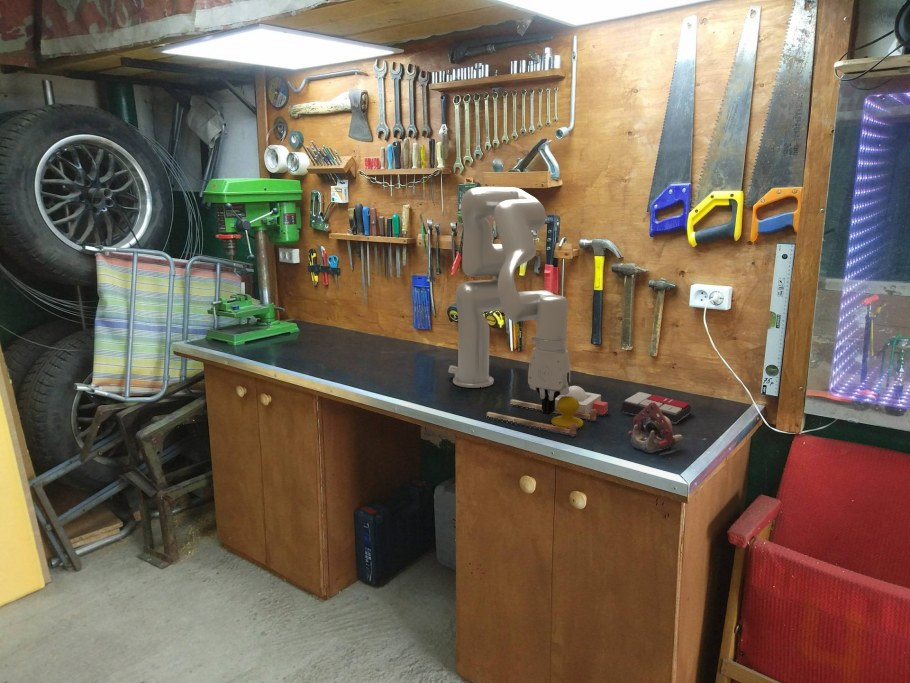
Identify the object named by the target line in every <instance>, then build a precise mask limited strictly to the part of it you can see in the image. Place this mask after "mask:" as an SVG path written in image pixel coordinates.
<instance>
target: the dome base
mask: <svg viewBox="0 0 910 683" xmlns="http://www.w3.org/2000/svg"><path fill="white" fill-rule="evenodd" d="M585 393H586V400H584V401H583V402H579V408H578V410H577V411H576V412H580V413H585V414H589V413H590V409H596V413H600V414H605V413H606V412H607V411H608V410H609V409H608V408H609V402H607V401H602V395H601V394H599V393H592V392H587V391H585ZM561 397H563V395H559V396H558V397H557V398H555V408H558V407H557V402H558V400H559V399H560V398H561ZM608 412H609V411H608ZM608 412H607V413H608Z"/></svg>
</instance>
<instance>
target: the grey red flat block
mask: <svg viewBox="0 0 910 683" xmlns="http://www.w3.org/2000/svg"><path fill="white" fill-rule="evenodd" d="M651 402H655V403H656V404H657V405H658V407H659V409H660V410H661V412H662V414H663V416H666V417H667V418H668V419H669V420H670V421H673V422H677V421H678V420H680V419H681V418H682V417H683V416H685V415H686V414H688V413H689V412H690V413H691V410H692V409H691V407H692V405H691V404H690V403H688V402H684V401H682V400H678V399H672V398H669V397H665V396H660V395H657V394H650V393H645V392H641V391H638V392H636V393H635V394H633V395H632V396H630V397H628V398H626V399H624V400H623V401H622V403H621V411H624V412H628V413H633V414H638V413H640V412H641V411H642V410H643V409H644V408H645V407H647V406H648V405H649V404H650V403H651ZM621 411H620V412H621ZM647 413H648V414H649V412H648V411H647ZM643 415H644V414H643Z"/></svg>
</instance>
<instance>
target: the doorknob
mask: <svg viewBox="0 0 910 683" xmlns="http://www.w3.org/2000/svg"><path fill="white" fill-rule="evenodd" d="M557 407H558V409H559V411H560V412H561V413H562V415H557V416H554V417H552V418H551V422H550V423H552V424H553V425H555V426H558V427H563V428H570V423H575V424H577V427H580V426H582V425H583V426H584V420H582V419H580V418H577V417H574V416H573V414H574V413H575V412H576V411H577V410H578V408H579V402H578V400H577V399H576V398H574V397H572V396H564V397H561V398H560V399H559V400H558V402H557ZM552 424H551V425H552Z"/></svg>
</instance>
